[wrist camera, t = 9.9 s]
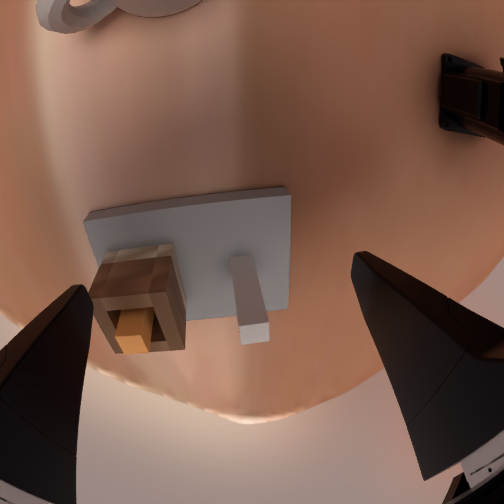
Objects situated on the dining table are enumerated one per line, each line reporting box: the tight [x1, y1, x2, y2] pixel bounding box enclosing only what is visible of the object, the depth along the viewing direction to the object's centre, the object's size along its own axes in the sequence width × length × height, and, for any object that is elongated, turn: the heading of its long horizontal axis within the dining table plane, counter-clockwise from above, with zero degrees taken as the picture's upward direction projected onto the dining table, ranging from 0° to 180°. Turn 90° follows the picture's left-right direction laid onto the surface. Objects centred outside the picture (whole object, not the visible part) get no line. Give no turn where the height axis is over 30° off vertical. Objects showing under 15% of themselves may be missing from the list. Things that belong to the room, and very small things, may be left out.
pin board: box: [83, 187, 291, 354], centre depth 19 cm, size 14×10×8 cm
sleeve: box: [88, 243, 187, 353], centre depth 19 cm, size 5×5×5 cm
